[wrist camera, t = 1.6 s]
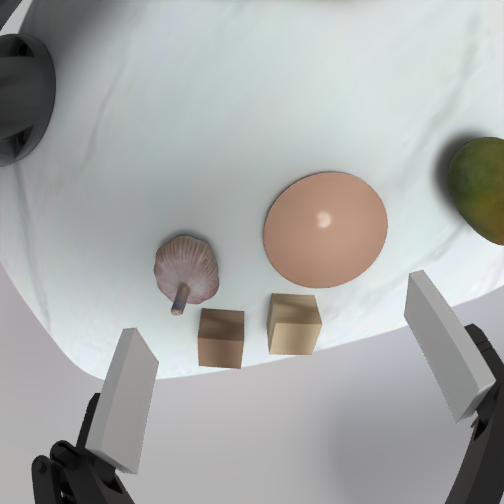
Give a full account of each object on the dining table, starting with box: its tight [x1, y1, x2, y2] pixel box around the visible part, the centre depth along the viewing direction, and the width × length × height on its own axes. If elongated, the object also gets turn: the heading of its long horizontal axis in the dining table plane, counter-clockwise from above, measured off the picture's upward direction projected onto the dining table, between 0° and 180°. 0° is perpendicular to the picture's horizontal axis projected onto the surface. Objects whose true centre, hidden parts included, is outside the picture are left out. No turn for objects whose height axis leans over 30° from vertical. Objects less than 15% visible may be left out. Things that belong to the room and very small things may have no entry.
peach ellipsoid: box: [264, 172, 388, 288], centre depth 30 cm, size 13×13×1 cm
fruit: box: [447, 137, 504, 245], centre depth 23 cm, size 12×12×10 cm
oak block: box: [267, 293, 322, 355], centre depth 34 cm, size 5×5×5 cm
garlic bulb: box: [154, 236, 219, 315], centre depth 29 cm, size 8×7×8 cm
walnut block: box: [198, 308, 244, 369], centre depth 35 cm, size 5×5×5 cm
